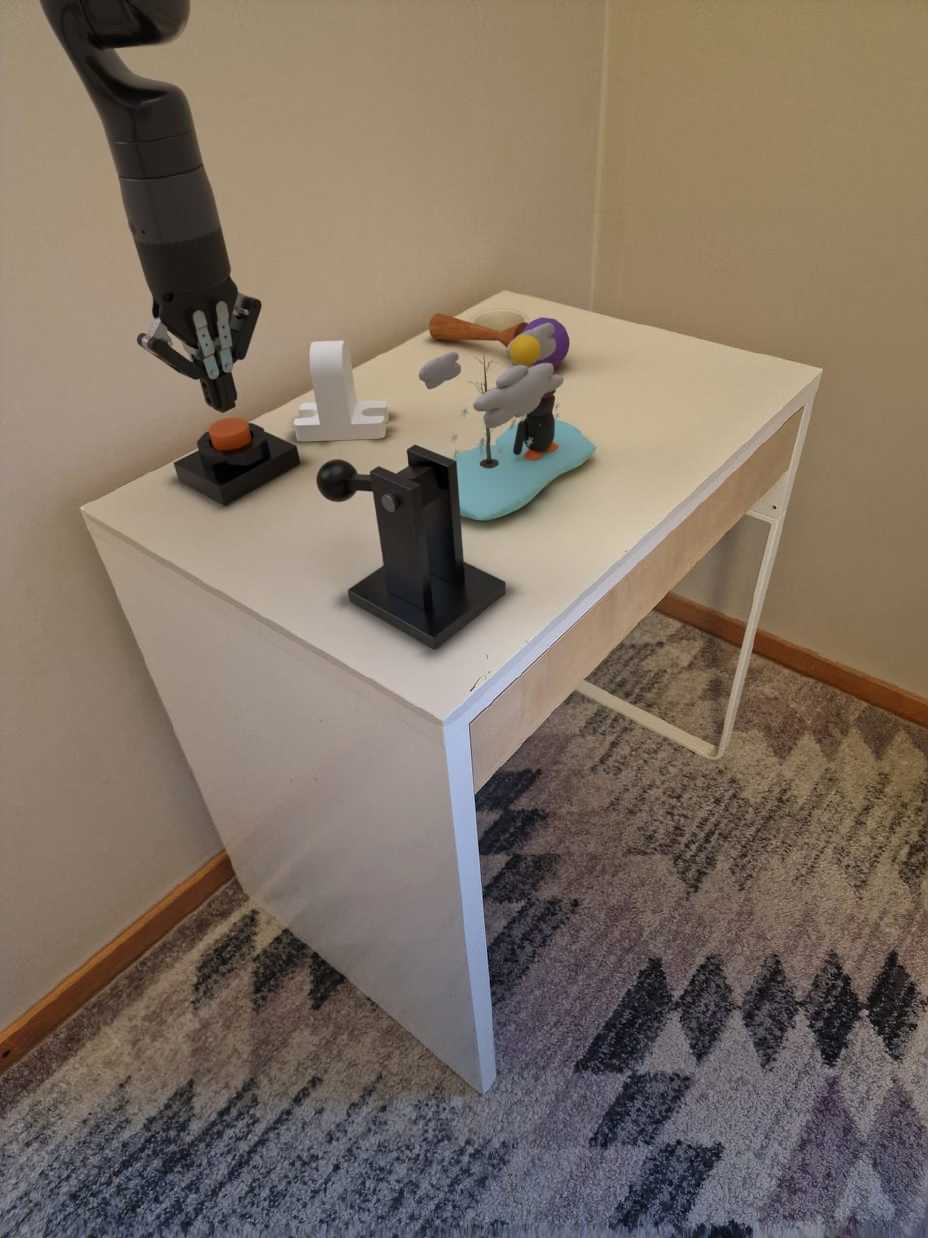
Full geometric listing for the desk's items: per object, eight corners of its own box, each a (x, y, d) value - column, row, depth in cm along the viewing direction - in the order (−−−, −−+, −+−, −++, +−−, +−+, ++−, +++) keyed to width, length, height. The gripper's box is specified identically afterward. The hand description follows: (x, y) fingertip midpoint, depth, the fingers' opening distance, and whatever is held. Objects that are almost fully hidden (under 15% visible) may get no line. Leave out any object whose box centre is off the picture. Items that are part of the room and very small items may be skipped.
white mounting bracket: (304, 418, 98) (287, 334, 92) (389, 415, 98) (378, 330, 91) (295, 441, 94) (277, 355, 88) (384, 438, 94) (373, 351, 87)
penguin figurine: (538, 424, 94) (538, 285, 84) (616, 456, 88) (625, 311, 78) (403, 501, 84) (385, 354, 74) (481, 542, 78) (472, 388, 68)
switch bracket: (349, 600, 73) (324, 470, 65) (421, 550, 78) (407, 423, 69) (434, 649, 68) (420, 515, 59) (506, 592, 73) (502, 461, 64)
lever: (317, 507, 74) (301, 469, 72) (347, 489, 76) (333, 451, 74) (418, 519, 64) (403, 475, 63) (450, 498, 66) (436, 455, 65)
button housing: (224, 506, 85) (214, 471, 83) (178, 480, 90) (167, 447, 87) (300, 463, 91) (293, 430, 88) (254, 441, 95) (246, 409, 92)
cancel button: (228, 455, 86) (224, 440, 84) (204, 444, 88) (200, 428, 87) (259, 439, 88) (256, 424, 87) (235, 428, 90) (232, 413, 89)
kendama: (451, 299, 113) (580, 316, 102) (451, 345, 116) (576, 367, 105) (421, 305, 109) (552, 324, 98) (422, 353, 112) (549, 377, 101)
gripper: (133, 255, 68) (191, 446, 80) (262, 211, 76) (299, 392, 87) (84, 239, 72) (146, 424, 84) (212, 199, 79) (253, 374, 91)
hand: (224, 407), depth 85 cm, fingers closed
